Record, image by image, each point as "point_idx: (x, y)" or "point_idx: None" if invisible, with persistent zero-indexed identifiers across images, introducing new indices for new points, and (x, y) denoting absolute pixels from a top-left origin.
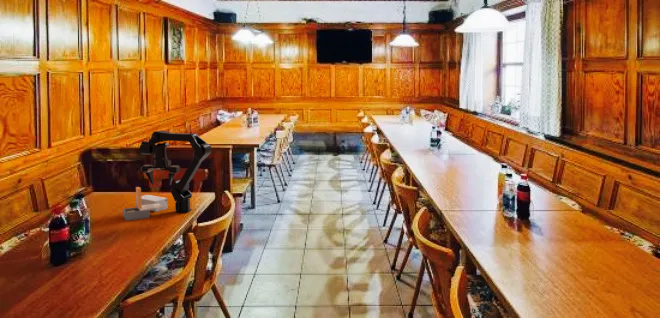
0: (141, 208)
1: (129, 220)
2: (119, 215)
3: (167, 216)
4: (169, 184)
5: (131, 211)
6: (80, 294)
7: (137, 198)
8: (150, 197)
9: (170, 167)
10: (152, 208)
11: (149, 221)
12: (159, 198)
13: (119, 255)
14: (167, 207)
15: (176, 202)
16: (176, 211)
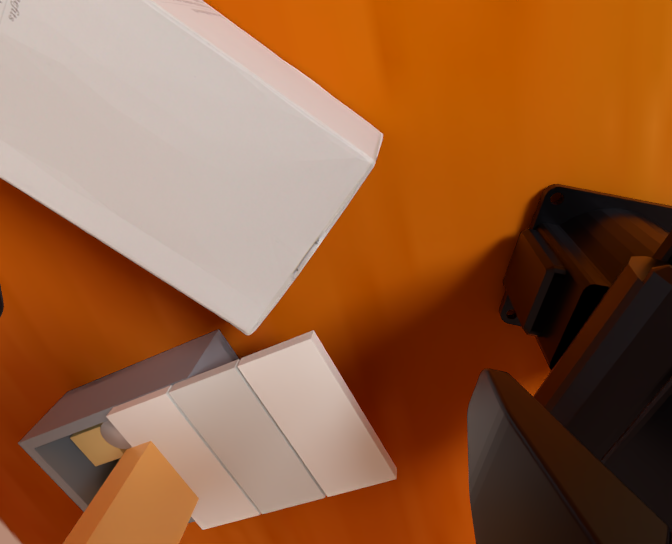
0: (197, 500)
1: None
2: (12, 348)
3: (436, 419)
4: (477, 441)
5: (111, 442)
6: None
7: None
8: (96, 129)
9: None
10: (299, 501)
11: (320, 513)
12: (261, 195)
13: None
14: (382, 138)
15: (544, 350)
16: (516, 320)
